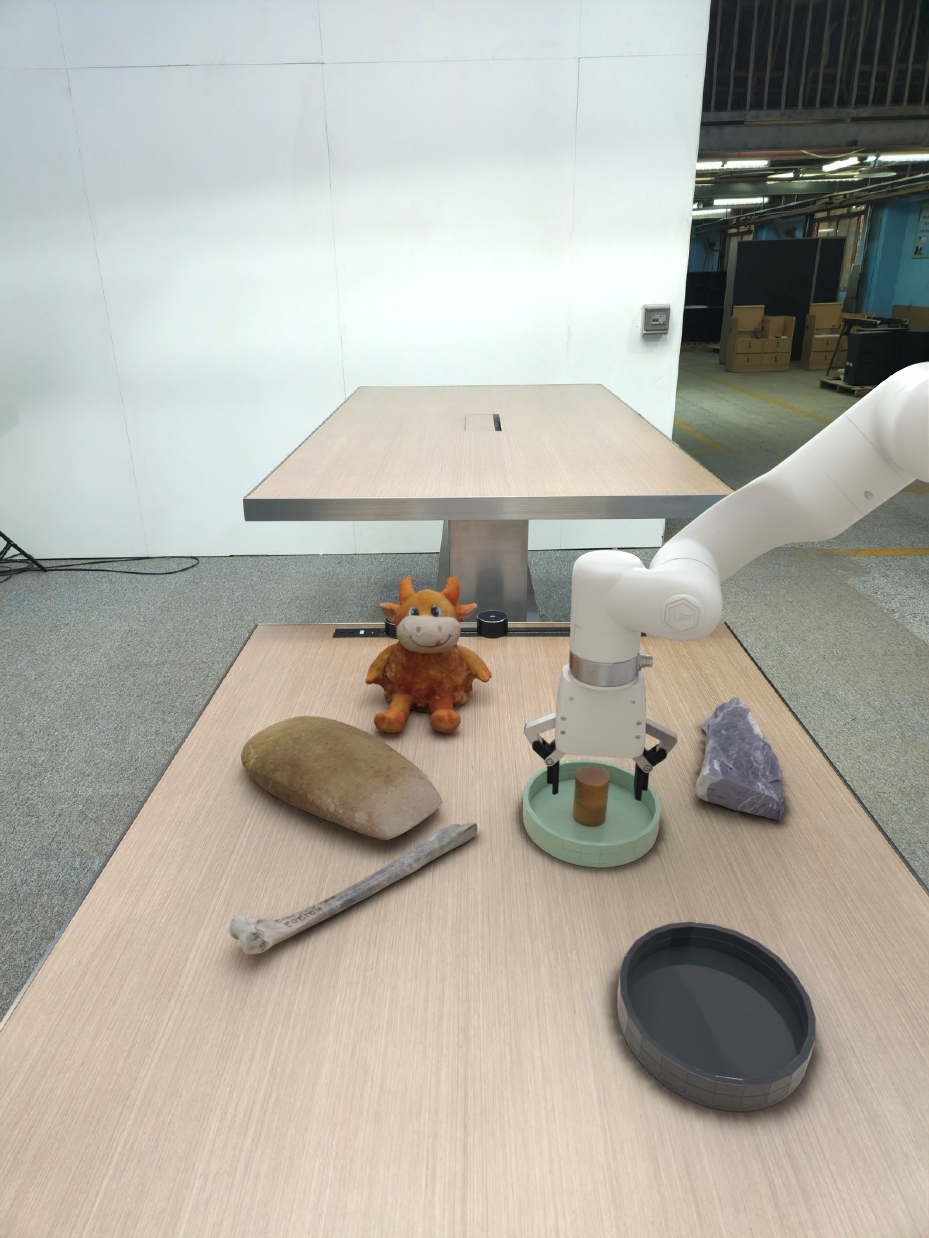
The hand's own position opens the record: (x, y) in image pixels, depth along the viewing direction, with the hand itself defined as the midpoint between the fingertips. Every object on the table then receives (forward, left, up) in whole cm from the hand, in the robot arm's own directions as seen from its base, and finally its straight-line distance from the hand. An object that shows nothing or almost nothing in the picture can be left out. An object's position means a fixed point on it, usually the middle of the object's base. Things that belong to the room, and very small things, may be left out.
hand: (596, 790), depth 89 cm
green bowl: (0, 0, -5) cm, 5 cm away
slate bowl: (-22, +17, -5) cm, 28 cm away
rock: (-8, -22, -5) cm, 24 cm away
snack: (+1, 0, -4) cm, 4 cm away
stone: (+29, +15, -5) cm, 33 cm away
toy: (+34, -9, -5) cm, 36 cm away
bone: (+13, +25, -5) cm, 29 cm away
